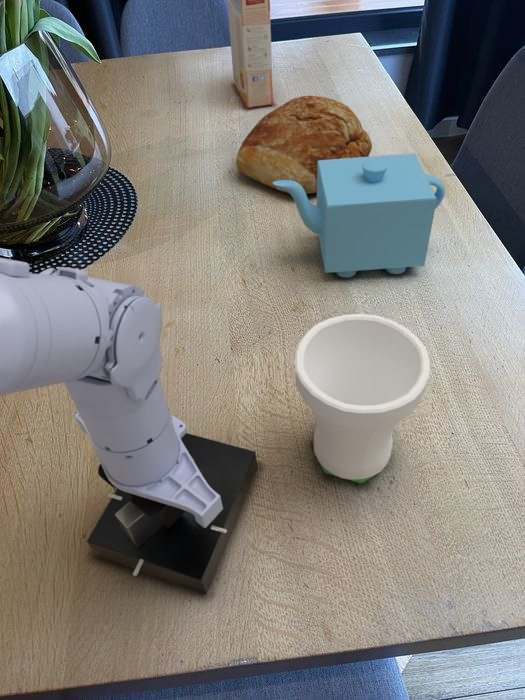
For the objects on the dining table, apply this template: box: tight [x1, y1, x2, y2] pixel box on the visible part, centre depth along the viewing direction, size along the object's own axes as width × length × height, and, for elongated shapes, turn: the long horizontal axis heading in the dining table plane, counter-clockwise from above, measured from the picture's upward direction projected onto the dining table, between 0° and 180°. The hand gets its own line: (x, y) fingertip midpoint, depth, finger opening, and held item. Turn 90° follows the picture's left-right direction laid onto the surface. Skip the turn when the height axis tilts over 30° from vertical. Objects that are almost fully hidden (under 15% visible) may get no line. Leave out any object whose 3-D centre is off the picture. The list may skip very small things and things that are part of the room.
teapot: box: [273, 153, 446, 278], centre depth 74 cm, size 22×11×14 cm, turn 92°
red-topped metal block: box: [115, 501, 164, 549], centre depth 48 cm, size 8×2×4 cm, turn 135°
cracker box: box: [226, 0, 274, 109], centre depth 111 cm, size 14×6×21 cm, turn 13°
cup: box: [294, 313, 431, 484], centre depth 51 cm, size 11×11×14 cm
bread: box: [236, 95, 373, 195], centre depth 92 cm, size 20×18×10 cm
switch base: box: [86, 432, 258, 595], centre depth 52 cm, size 14×12×3 cm
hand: (164, 510), depth 49 cm, fingers closed on red-topped metal block, 2 cm apart
